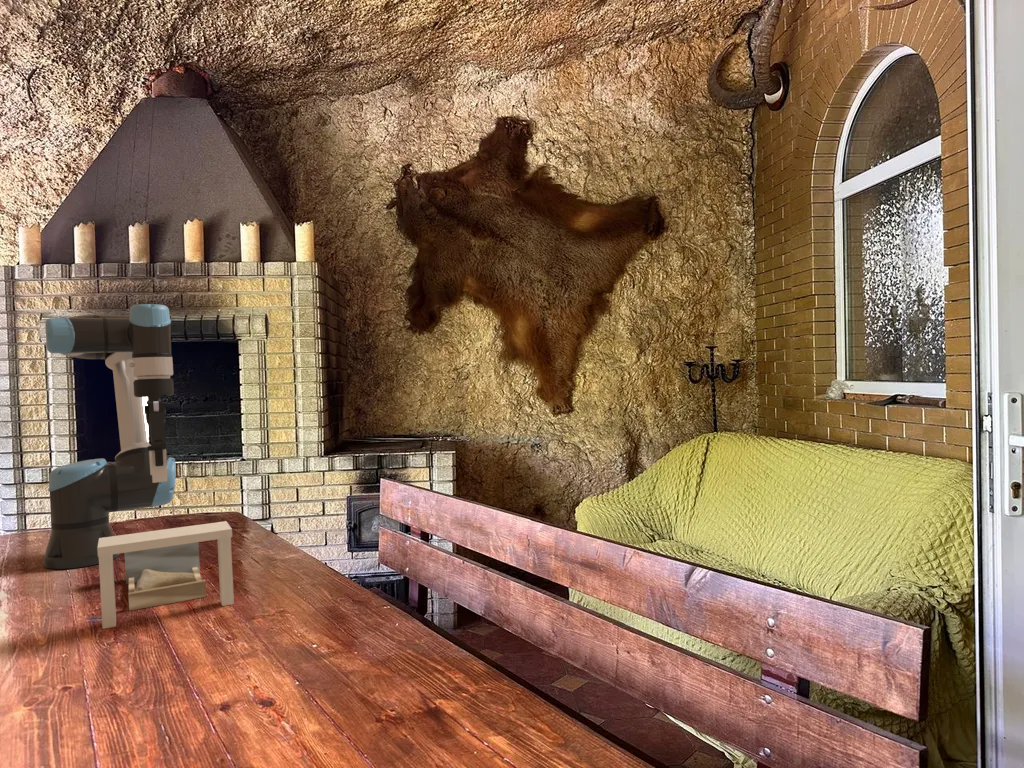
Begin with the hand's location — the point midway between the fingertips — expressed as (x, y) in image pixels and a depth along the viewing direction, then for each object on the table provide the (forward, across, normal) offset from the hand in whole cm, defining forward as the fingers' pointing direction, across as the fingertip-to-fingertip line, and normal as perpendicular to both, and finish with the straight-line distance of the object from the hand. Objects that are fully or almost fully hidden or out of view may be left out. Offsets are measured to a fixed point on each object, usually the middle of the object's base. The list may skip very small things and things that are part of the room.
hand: (158, 478), depth 146 cm
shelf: (+21, +26, 0) cm, 34 cm away
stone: (+21, +13, 0) cm, 25 cm away
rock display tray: (+21, +8, 0) cm, 23 cm away
